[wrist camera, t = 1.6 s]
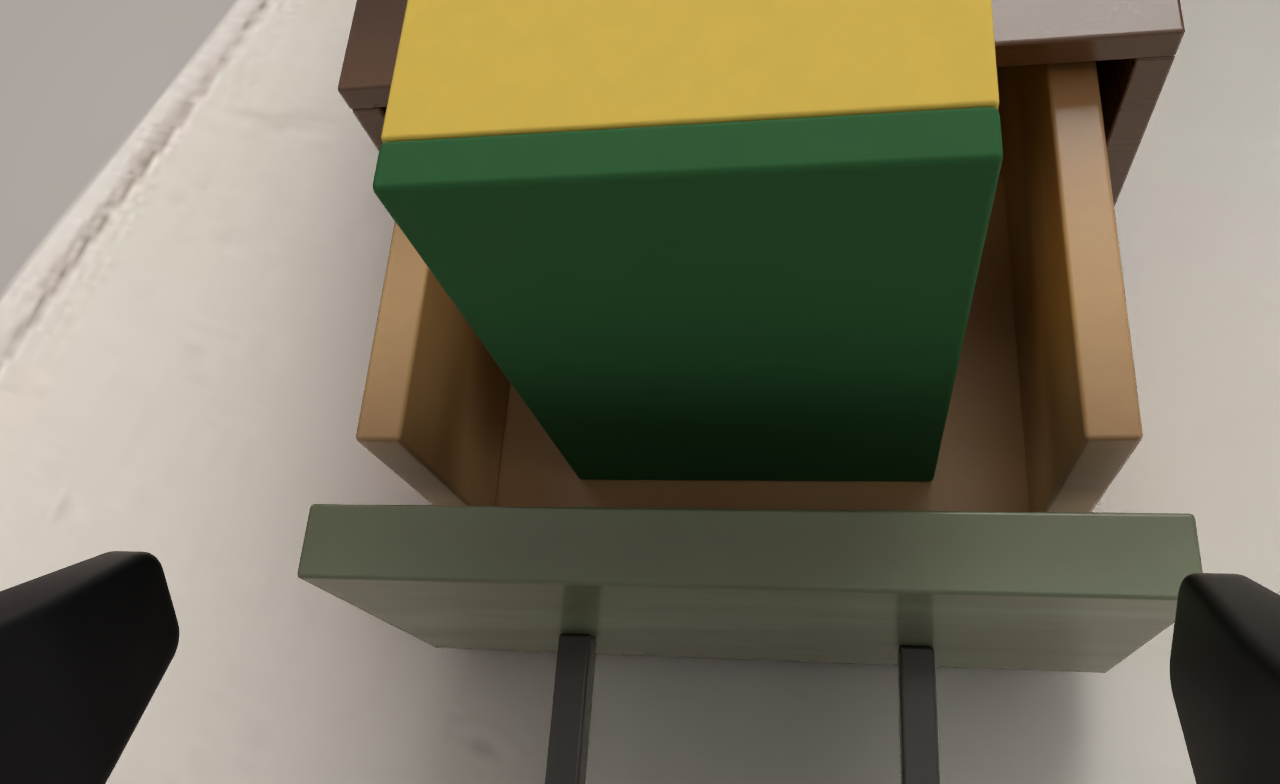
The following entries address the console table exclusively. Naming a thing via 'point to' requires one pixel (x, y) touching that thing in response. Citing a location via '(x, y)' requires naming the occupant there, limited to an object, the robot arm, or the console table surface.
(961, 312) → the sponge
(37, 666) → the robot arm
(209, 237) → the console table surface
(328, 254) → the console table surface
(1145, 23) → the cabinet
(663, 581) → the drawer
